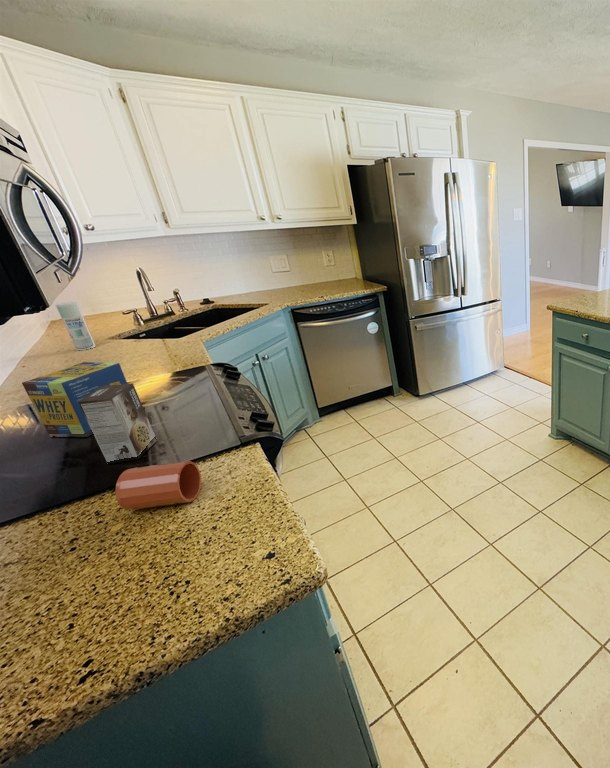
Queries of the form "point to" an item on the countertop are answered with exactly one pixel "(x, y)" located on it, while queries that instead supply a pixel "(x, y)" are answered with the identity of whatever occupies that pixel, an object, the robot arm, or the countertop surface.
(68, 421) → the protein box
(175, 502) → the cup
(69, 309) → the spray can
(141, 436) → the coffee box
